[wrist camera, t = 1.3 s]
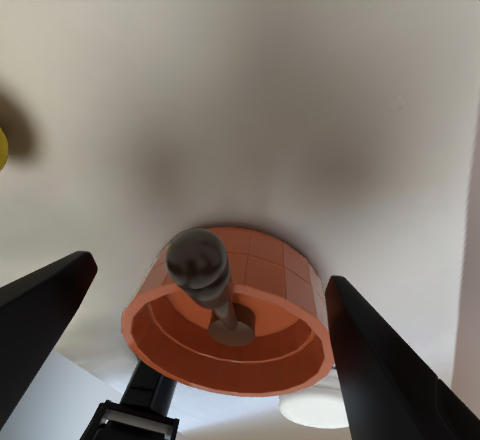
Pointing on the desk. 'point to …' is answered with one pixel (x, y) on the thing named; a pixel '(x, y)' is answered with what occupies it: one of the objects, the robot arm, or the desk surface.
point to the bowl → (266, 328)
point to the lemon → (3, 149)
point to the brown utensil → (210, 284)
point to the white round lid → (317, 404)
